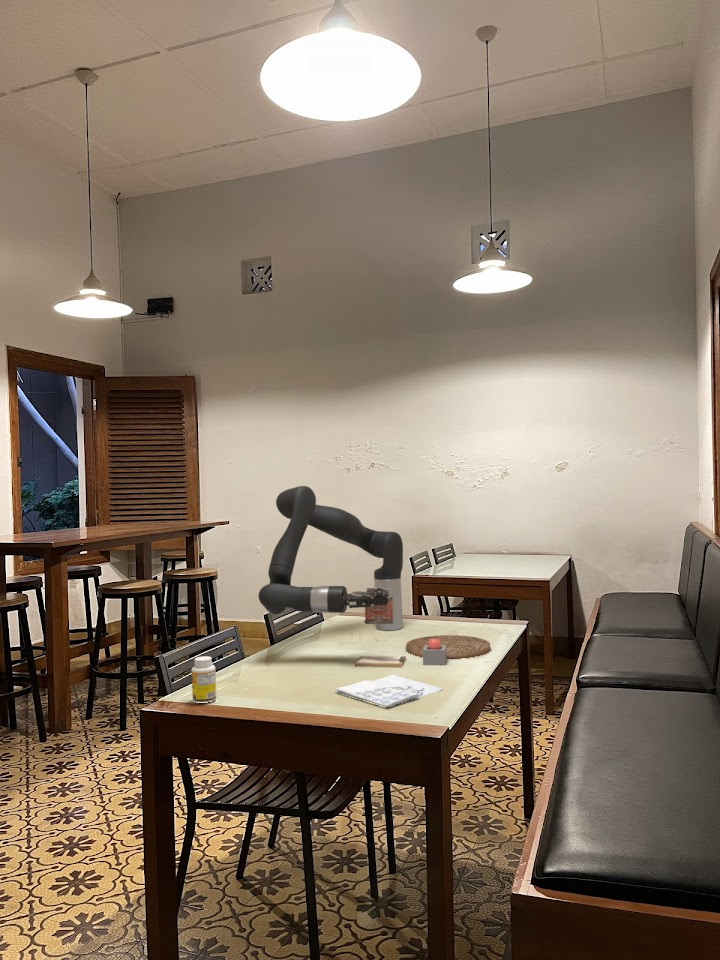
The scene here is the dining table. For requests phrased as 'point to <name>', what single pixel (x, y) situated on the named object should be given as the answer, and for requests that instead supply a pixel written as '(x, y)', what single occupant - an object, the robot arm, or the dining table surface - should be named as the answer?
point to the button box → (434, 655)
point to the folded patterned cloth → (388, 690)
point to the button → (434, 643)
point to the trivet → (452, 646)
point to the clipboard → (381, 661)
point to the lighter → (379, 608)
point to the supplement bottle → (203, 680)
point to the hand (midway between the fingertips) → (388, 599)
